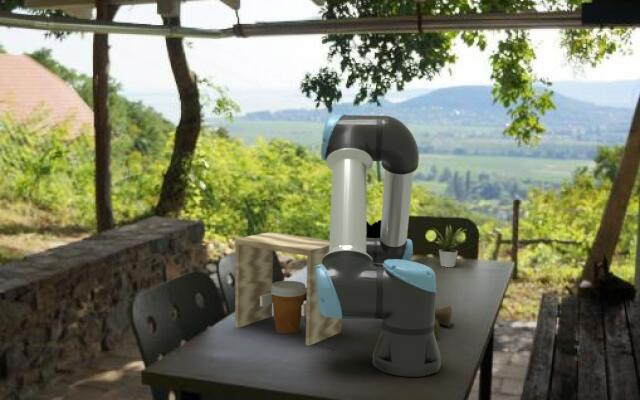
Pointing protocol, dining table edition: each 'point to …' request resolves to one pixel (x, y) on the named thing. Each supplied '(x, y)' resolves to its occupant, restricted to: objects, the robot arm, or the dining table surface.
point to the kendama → (442, 318)
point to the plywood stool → (258, 277)
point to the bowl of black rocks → (373, 231)
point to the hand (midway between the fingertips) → (281, 305)
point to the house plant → (448, 248)
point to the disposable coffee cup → (288, 305)
